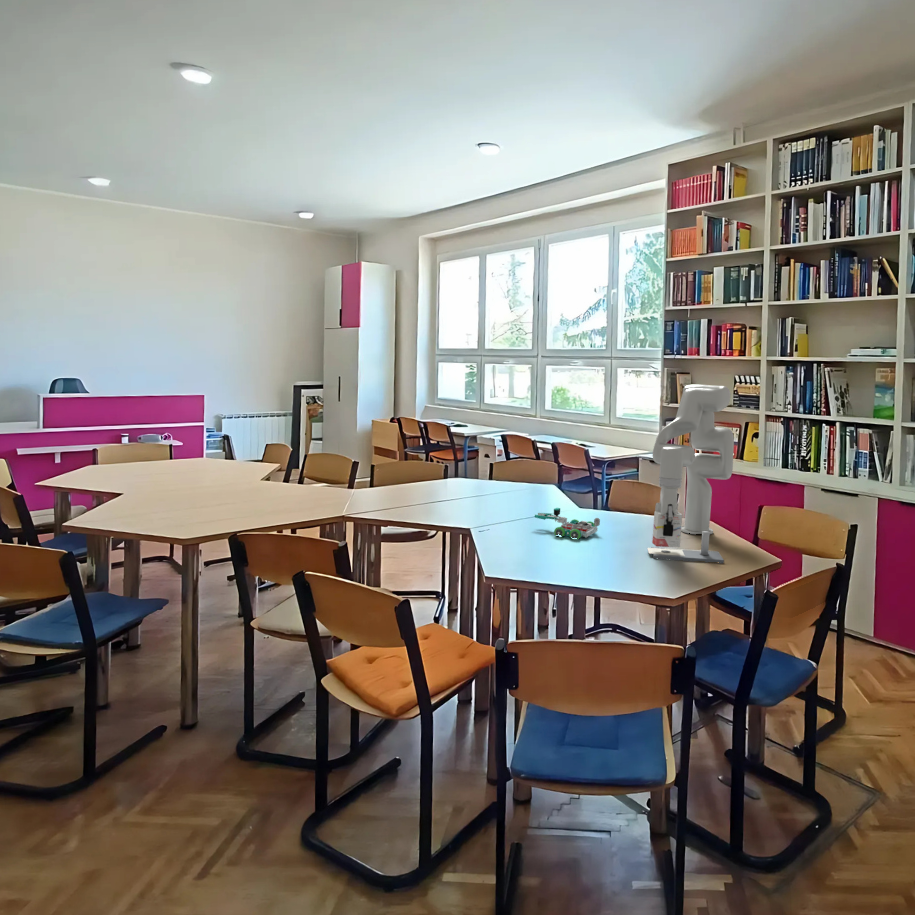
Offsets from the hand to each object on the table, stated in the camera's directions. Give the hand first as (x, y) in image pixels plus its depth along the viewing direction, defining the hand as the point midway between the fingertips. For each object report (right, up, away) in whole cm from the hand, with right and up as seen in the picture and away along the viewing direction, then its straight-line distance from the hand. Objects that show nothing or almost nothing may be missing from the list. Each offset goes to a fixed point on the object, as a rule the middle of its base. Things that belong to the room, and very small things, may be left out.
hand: (666, 533), depth 262 cm
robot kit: (-31, -4, +32) cm, 45 cm away
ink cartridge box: (0, -5, 0) cm, 5 cm away
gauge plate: (+7, -8, 0) cm, 10 cm away
